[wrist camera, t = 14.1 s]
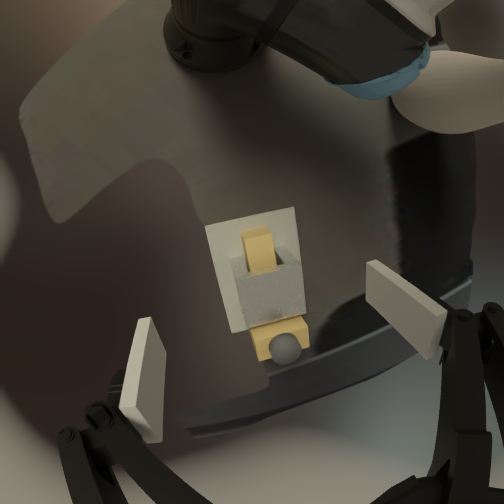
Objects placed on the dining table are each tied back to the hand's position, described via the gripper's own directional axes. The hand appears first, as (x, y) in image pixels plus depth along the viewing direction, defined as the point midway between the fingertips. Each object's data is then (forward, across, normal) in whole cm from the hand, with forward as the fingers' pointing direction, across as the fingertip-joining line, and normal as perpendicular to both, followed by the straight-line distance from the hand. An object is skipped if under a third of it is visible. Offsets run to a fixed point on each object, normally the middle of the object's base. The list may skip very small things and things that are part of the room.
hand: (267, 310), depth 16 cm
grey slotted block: (+28, +4, -12) cm, 31 cm away
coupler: (+29, +4, -12) cm, 31 cm away
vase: (+29, +36, +15) cm, 49 cm away
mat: (+29, +4, -12) cm, 31 cm away
